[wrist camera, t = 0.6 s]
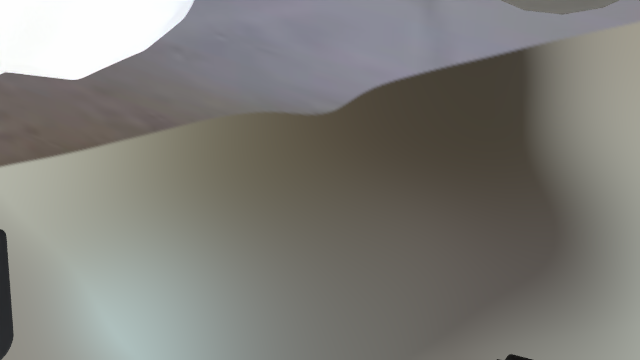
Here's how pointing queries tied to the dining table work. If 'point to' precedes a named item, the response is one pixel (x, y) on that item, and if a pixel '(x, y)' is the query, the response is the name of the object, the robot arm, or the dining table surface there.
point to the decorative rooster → (80, 33)
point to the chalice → (559, 5)
